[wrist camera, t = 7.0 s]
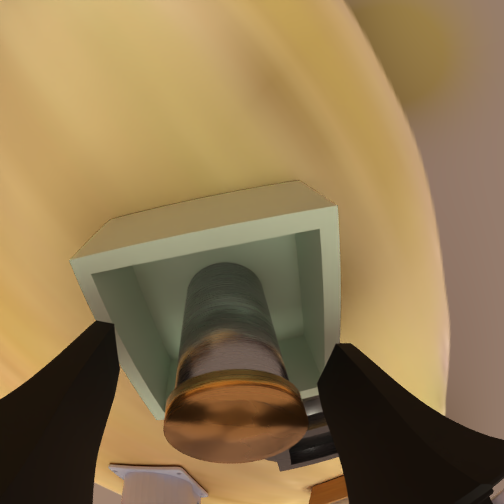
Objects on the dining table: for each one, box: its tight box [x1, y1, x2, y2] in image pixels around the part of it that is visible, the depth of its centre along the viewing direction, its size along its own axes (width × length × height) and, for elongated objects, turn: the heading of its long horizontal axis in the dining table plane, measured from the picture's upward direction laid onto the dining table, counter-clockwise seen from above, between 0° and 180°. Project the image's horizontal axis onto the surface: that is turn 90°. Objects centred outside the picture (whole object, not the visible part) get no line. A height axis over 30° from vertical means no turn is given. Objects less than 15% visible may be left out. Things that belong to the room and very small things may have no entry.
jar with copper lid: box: [164, 262, 308, 463], centre depth 10 cm, size 4×4×7 cm
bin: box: [69, 180, 341, 420], centre depth 11 cm, size 8×8×4 cm
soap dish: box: [309, 476, 349, 504], centre depth 26 cm, size 12×10×5 cm
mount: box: [266, 395, 339, 471], centre depth 18 cm, size 10×10×2 cm
